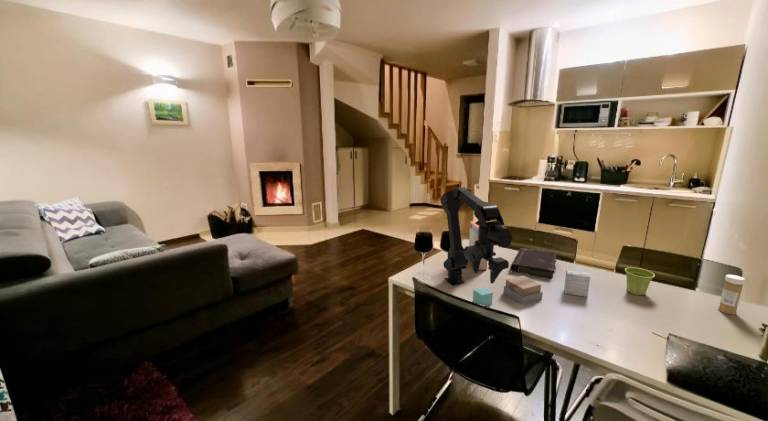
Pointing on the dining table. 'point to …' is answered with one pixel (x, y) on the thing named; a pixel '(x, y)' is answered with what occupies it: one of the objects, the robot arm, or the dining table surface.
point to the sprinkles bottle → (731, 294)
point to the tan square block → (523, 285)
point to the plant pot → (638, 280)
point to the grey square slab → (521, 298)
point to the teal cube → (482, 296)
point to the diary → (535, 262)
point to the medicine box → (577, 283)
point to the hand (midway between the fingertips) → (483, 278)
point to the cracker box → (472, 239)
